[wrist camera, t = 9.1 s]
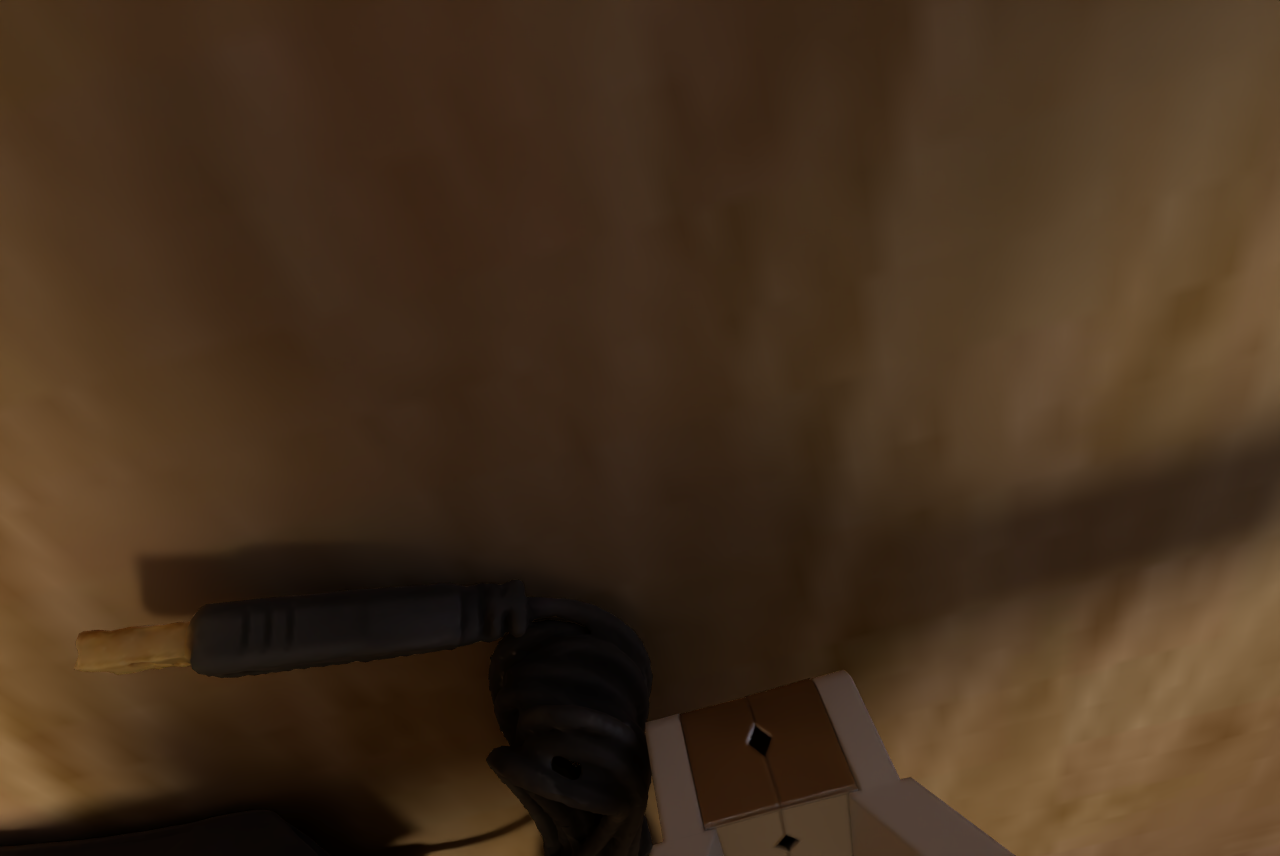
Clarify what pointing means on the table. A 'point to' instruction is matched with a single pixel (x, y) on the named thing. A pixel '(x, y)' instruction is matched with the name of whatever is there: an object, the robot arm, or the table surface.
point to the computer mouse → (416, 624)
